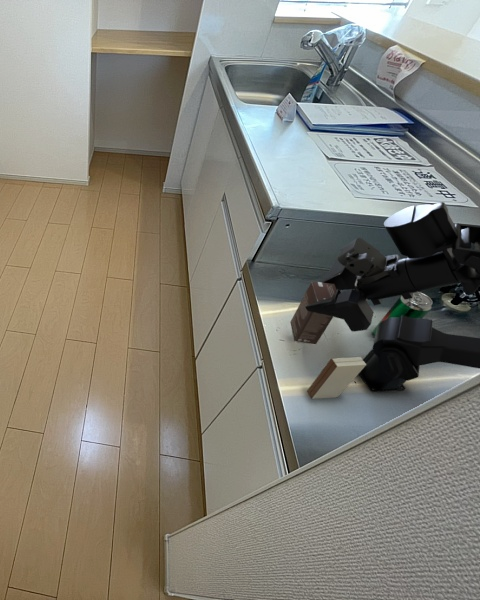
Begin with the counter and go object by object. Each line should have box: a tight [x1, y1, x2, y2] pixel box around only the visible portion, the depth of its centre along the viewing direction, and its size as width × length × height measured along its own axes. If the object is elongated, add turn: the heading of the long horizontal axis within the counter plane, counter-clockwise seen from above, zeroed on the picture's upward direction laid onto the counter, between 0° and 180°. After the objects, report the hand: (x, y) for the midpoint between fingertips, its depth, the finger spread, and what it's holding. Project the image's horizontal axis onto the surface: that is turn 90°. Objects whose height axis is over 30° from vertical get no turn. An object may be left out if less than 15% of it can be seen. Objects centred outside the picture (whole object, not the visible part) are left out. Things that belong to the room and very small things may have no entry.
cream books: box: [306, 356, 366, 400], centre depth 64 cm, size 2×5×11 cm, turn 91°
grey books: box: [323, 255, 344, 280], centre depth 83 cm, size 4×2×11 cm, turn 1°
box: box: [290, 280, 337, 345], centre depth 70 cm, size 6×4×12 cm
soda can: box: [372, 291, 434, 336], centre depth 72 cm, size 5×5×12 cm
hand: (311, 298), depth 68 cm, fingers closed on box, 7 cm apart
